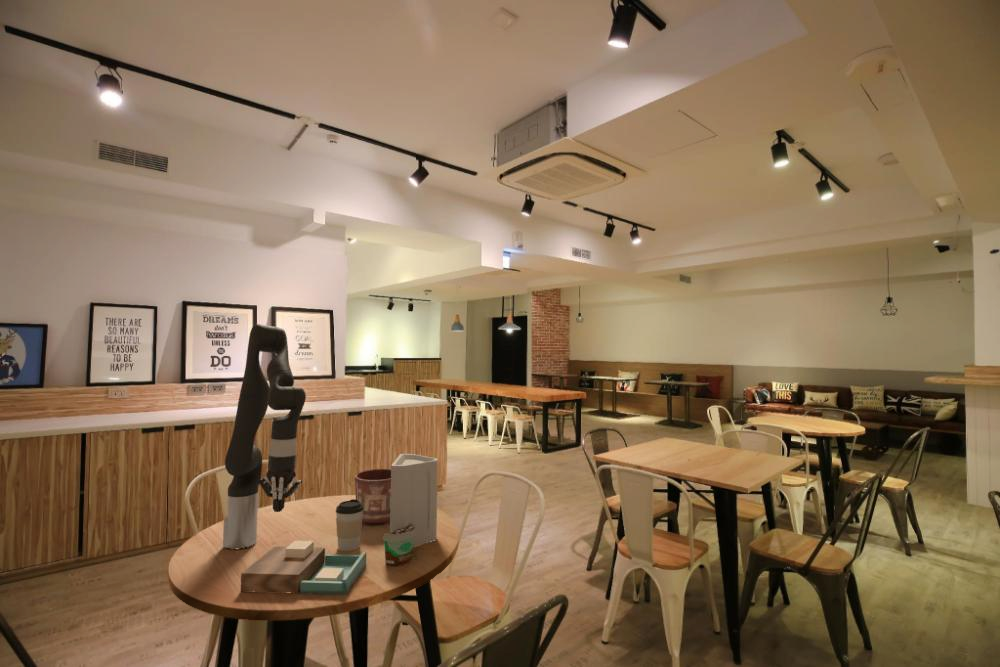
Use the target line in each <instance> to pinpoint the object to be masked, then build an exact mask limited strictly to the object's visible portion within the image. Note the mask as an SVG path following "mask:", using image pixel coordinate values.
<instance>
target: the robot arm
mask: <svg viewBox="0 0 1000 667" xmlns="http://www.w3.org/2000/svg"><path fill="white" fill-rule="evenodd" d="M247 343H248V344H247V351H246V352H247V353H246V361H245V368H244V373H243V378H242V383H241V388H240V392H239V397H238V400H237V402H238V403H237V408H236V414H235V420H234V424H233V430H232V431H233V432H232V436H231V439H230V441H229V445H228V447H227V448H228V449H227V451H226V455H225V458H224V467H225V471H226V472H227V473H228V474H229V475H230V476H232V480H231V482H230V484H229V485H228V488H227V500H226V501H227V502H226V504H227V505H226V506H227V509H226V517H225V518H223V532H222V533H223V534H222V548H226V547H227V548H231V549H230V550H234V549H235V550H237V549H236V548H243V547H247V548H249V547H248V546H250V547H252V546H254V545H255V544H256V543H257V539H258V538H257V537H258V510H259V487H261V488H262V490H263V491H264V493H265V495H266V497H268V498H272V499H273V500H272V510H273V512H274V513H279V512H280V513H281V512H282V510H284V508H285V501H286V499H287V498H289V497H291V496H292V495H293V494H294V493H295V492H296V490H297V489H298V488H299V487H300V486H301V485H302V484H303V480H302V479H298V478H297V477H296V476H297V475H296V472H295V469H296V463H297V462H296V458H297V452H298V450H297V449H298V448H297V447H298V446H297V445H298V444H297V433H298V424H299V420H300V417H301V413H302V411H303V409H304V405H305V402H306V397H307V394H306V392H305V389H304V388H302V387H301V386H294V384H295V379H294V376H293V372H292V369H291V365H290V362H289V347H288V345H289V344H288V338H287V333H286V330H284V328H282V327H279V326H273V325H266V324H260V323H256V324H254V325H253V326H252V327H251V330H250V333H249V336H248V342H247ZM261 352H262V353H269V354H275V356H274V357H273V358H272V359H270V361H269V363H268V364H267V366H266V367H267V368H266V376H267V378H266V377H265V374H264V372H263V370H262V368H261V364H260V353H261ZM267 380H268V381H267ZM268 407H269V408H270V409H271V410H274V411H289V412H288V413H287V414H286V415H283V416H281V417H277V418H275V419H273V421H272V423H271V433H270V434H271V435H270V441H269V447H268V457H267V458H268V459H267V460H268V461H267V469H268V470H267V472H266V474H265V476H264V477H262V472H263V471H262V470H263V454H262V450H261V449H260V448H259V447H258V446H257V445H255V440H256V436H257V433H258V430H259V429H260V426H261V424H262V422H263V420H264V418H265V415H266V413H267V411H268ZM289 485H291V486H290V487H289ZM253 544H254V545H253ZM251 545H252V546H251ZM227 548H226V549H227ZM243 549H244V548H243Z"/></svg>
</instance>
